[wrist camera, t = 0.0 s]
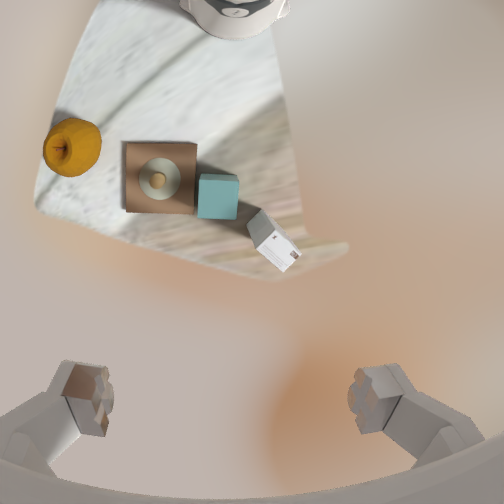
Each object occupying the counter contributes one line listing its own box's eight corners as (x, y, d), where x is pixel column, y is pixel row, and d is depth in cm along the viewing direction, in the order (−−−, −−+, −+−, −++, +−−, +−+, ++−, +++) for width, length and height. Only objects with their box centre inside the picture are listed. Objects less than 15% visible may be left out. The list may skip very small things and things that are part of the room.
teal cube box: (201, 173, 54) (199, 179, 47) (236, 175, 54) (239, 181, 48) (199, 207, 56) (197, 218, 49) (234, 209, 57) (236, 219, 50)
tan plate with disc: (128, 143, 50) (121, 144, 46) (197, 144, 52) (195, 145, 48) (127, 210, 54) (121, 216, 51) (193, 212, 56) (192, 219, 52)
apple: (110, 114, 48) (85, 112, 37) (113, 168, 51) (89, 179, 41) (62, 122, 47) (30, 123, 36) (65, 173, 50) (34, 186, 40)
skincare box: (244, 224, 58) (252, 249, 47) (262, 206, 57) (274, 227, 46) (269, 246, 60) (281, 275, 49) (286, 229, 59) (302, 254, 48)
